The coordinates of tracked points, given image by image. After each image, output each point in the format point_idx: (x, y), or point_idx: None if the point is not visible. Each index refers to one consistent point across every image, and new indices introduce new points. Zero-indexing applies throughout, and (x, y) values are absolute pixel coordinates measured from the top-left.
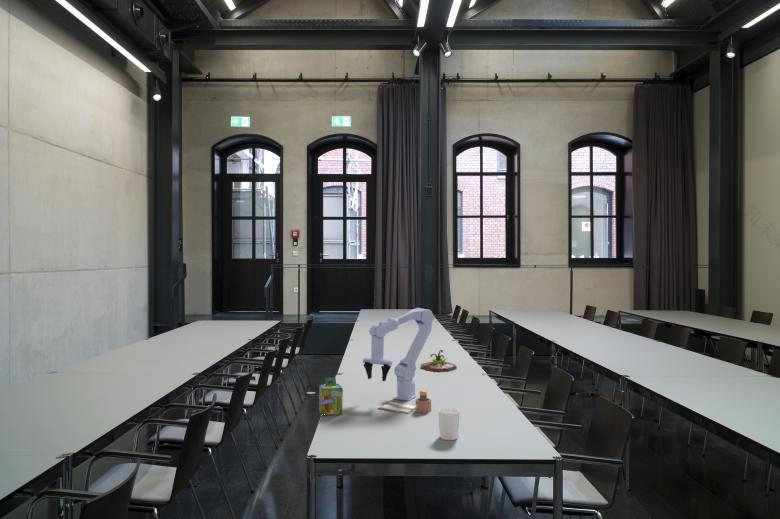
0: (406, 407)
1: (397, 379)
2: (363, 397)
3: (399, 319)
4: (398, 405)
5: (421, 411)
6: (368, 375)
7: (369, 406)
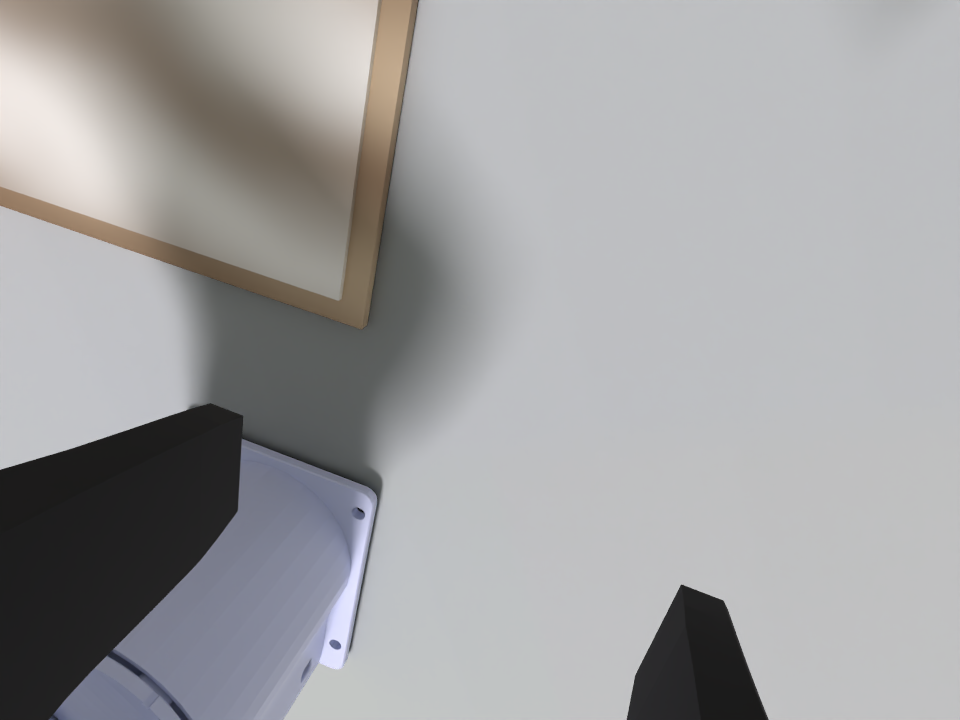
0: (45, 50)
1: (164, 712)
2: (830, 546)
3: None
4: (176, 129)
5: None
6: (704, 675)
7: (627, 22)
